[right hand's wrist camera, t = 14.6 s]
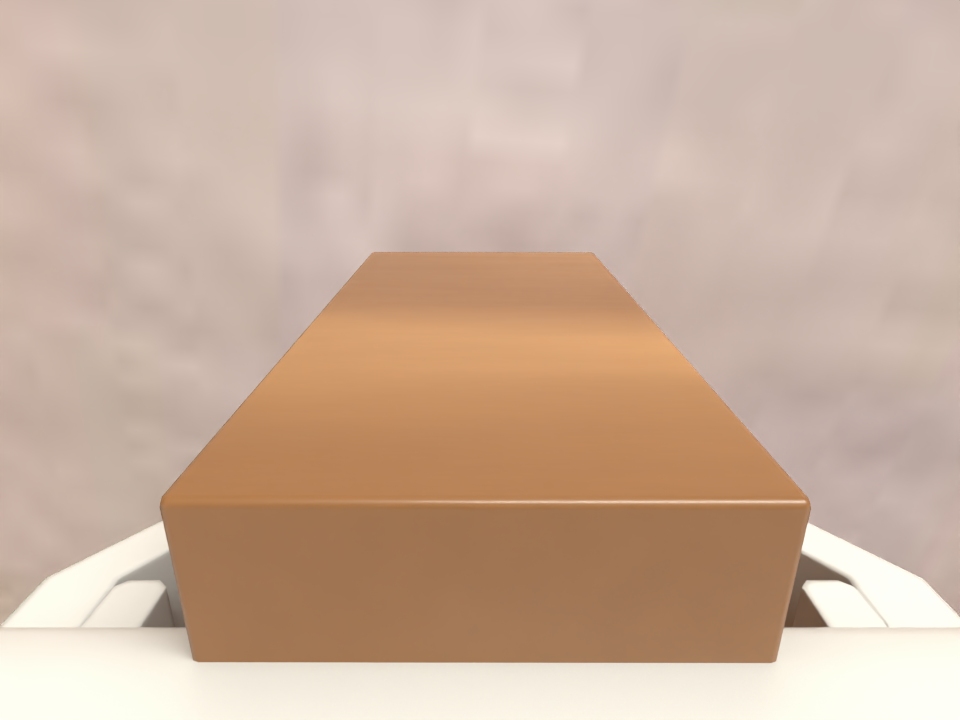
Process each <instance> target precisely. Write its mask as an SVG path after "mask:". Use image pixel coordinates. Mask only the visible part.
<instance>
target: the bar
mask: <svg viewBox="0 0 960 720" xmlns="http://www.w3.org/2000/svg"><path fill="white" fill-rule="evenodd" d="M160 510H161V515H162V520H163V524H164V529H165V533H166V538H167V543H168V547H169V552H170V557H171V561H172V566H173V570H174V575H175V580H176V584H177V589H178V593H179V598H180V603H181V607H182V612H183V617H184V621H185V626H186V630H187V635H188V640H189V644H190V649H191V653H192V658H193V661H196V662H353V663H773V662H775V661H776V660H777V655H778V651H779V646H780V642H781V638H782V633H783V629H784V624H785V620H786V616H787V611H788V607H789V603H790V598H791V594H792V589H793V585H794V581H795V576H796V572H797V567H798V563H799V559H800V554H801V550H802V546H803V541H804V537H805V532H806V528H807V524H808V519H809V515H810V510H811V507H810V502H809V498H808V497H807V496H806V495H805V494H804V493H803V492H802V490H801V489H800V488H799V487H798V486H797V485H796V484H795V482H794V481H793V480H792V479H791V478H790V477H789V476H788V475H787V473H786V472H785V471H784V470H783V469H782V468H781V467H780V465H779V464H778V463H777V462H776V461H775V460H774V459H773V457H772V456H771V455H770V454H769V453H768V452H767V451H766V449H765V448H764V447H763V446H762V445H761V444H760V443H759V442H758V440H757V439H756V438H755V437H754V436H753V435H752V434H751V432H750V431H749V430H748V429H747V428H746V427H745V426H744V424H743V423H742V422H741V421H740V420H739V419H738V418H737V416H736V415H735V414H734V413H733V412H732V411H731V410H730V408H729V407H728V406H727V405H726V404H725V403H724V402H723V401H722V399H721V398H720V397H719V396H718V395H717V394H716V393H715V391H714V390H713V389H712V388H711V387H710V386H709V385H708V383H707V382H706V381H705V380H704V379H703V378H702V377H701V375H700V374H699V373H698V372H697V371H696V370H695V369H694V368H693V366H692V365H691V364H690V363H689V362H688V361H687V360H686V358H685V357H684V356H683V355H682V354H681V353H680V352H679V350H678V349H677V348H676V347H675V346H674V345H673V344H672V342H671V341H670V340H669V339H668V338H667V337H666V336H665V334H664V333H663V332H662V331H661V330H660V329H659V328H658V327H657V325H656V324H655V323H654V322H653V321H652V320H651V319H650V317H649V316H648V315H647V314H646V313H645V312H644V311H643V309H642V308H641V307H640V306H639V305H638V304H637V303H636V301H635V300H634V299H633V298H632V297H631V296H630V295H629V294H628V292H627V291H626V290H625V289H624V288H623V287H622V286H621V284H620V283H619V282H618V281H617V280H616V279H615V278H614V276H613V275H612V274H611V273H610V272H609V271H608V270H607V268H606V267H605V266H604V265H603V264H602V263H601V262H600V261H599V259H598V258H597V257H596V256H595V255H594V254H593V253H476V252H374V253H372V254H371V255H370V256H369V257H368V258H367V259H366V261H365V262H364V263H363V264H362V265H361V266H360V268H359V269H358V270H357V271H356V272H355V273H354V275H353V276H352V277H351V278H350V279H349V280H348V282H347V283H346V284H345V285H344V286H343V287H342V289H341V290H340V291H339V292H338V293H337V294H336V295H335V297H334V298H333V299H332V300H331V301H330V302H329V304H328V305H327V306H326V307H325V308H324V309H323V311H322V312H321V313H320V314H319V315H318V316H317V318H316V319H315V320H314V321H313V322H312V323H311V325H310V326H309V327H308V328H307V329H306V330H305V331H304V333H303V334H302V335H301V336H300V337H299V338H298V340H297V341H296V342H295V343H294V344H293V345H292V347H291V348H290V349H289V350H288V351H287V352H286V354H285V355H284V356H283V357H282V358H281V359H280V360H279V362H278V363H277V364H276V365H275V366H274V367H273V369H272V370H271V371H270V372H269V373H268V374H267V376H266V377H265V378H264V379H263V380H262V381H261V383H260V384H259V385H258V386H257V387H256V388H255V390H254V391H253V392H252V393H251V394H250V395H249V396H248V398H247V399H246V400H245V401H244V402H243V403H242V405H241V406H240V407H239V408H238V409H237V410H236V412H235V413H234V414H233V415H232V416H231V417H230V419H229V420H228V421H227V422H226V423H225V424H224V426H223V427H222V428H221V429H220V430H219V431H218V432H217V434H216V435H215V436H214V437H213V438H212V439H211V441H210V442H209V443H208V444H207V445H206V446H205V448H204V449H203V450H202V451H201V452H200V453H199V455H198V456H197V457H196V458H195V459H194V460H193V462H192V463H191V464H190V465H189V466H188V467H187V468H186V470H185V471H184V472H183V473H182V474H181V475H180V477H179V478H178V479H177V480H176V481H175V482H174V484H173V485H172V486H171V487H170V488H169V489H168V491H167V492H166V493H165V494H164V495H163V496H162V499H161V503H160Z"/></svg>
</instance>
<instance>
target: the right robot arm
mask: <svg viewBox="0 0 960 720" xmlns="http://www.w3.org/2000/svg"><path fill="white" fill-rule="evenodd" d="M0 720H960V616H959V615H958V614H957V613H956V612H955V611H954V610H953V609H952V608H951V607H950V606H949V605H948V604H947V603H946V602H945V601H944V600H943V599H942V598H941V597H940V596H939V595H938V594H937V593H936V592H935V591H934V590H933V589H932V588H931V587H930V586H929V585H928V584H927V582H926V581H925V580H924V579H922V578H920V577H918V576H916V575H914V574H912V573H910V572H908V571H906V570H904V569H902V568H900V567H898V566H896V565H894V564H892V563H890V562H888V561H886V560H884V559H882V558H880V557H877V556H875V555H873V554H871V553H869V552H867V551H865V550H863V549H861V548H859V547H857V546H855V545H853V544H851V543H849V542H847V541H845V540H843V539H841V538H839V537H837V536H835V535H832V534H830V533H828V532H826V531H824V530H822V529H820V528H818V527H816V526H814V525H812V524H810V523H808V524H807V528H806V532H805V537H804V541H803V546H802V550H801V554H800V559H799V563H798V567H797V572H796V576H795V581H794V585H793V589H792V594H791V598H790V603H789V607H788V611H787V616H786V620H785V624H784V629H783V633H782V638H781V642H780V646H779V651H778V655H777V660H776V661H775V662H773V663H353V662H196V661H193V658H192V653H191V649H190V644H189V640H188V635H187V630H186V626H185V621H184V617H183V612H182V607H181V603H180V598H179V593H178V589H177V584H176V580H175V575H174V570H173V566H172V561H171V557H170V552H169V547H168V543H167V538H166V533H165V529H164V524H163V520H162V521H160V522H158V523H156V524H154V525H152V526H150V527H148V528H146V529H144V530H142V531H140V532H138V533H136V534H134V535H132V536H130V537H128V538H126V539H124V540H122V541H120V542H118V543H116V544H114V545H112V546H110V547H108V548H106V549H104V550H102V551H99V552H97V553H95V554H93V555H91V556H89V557H87V558H85V559H83V560H81V561H79V562H77V563H75V564H73V565H71V566H69V567H67V568H65V569H63V570H61V571H59V572H57V573H55V574H53V575H51V576H49V577H47V578H45V579H44V580H43V581H42V583H41V584H40V585H39V586H38V587H37V588H36V589H35V590H34V591H33V592H32V593H31V594H30V595H29V596H28V597H27V598H26V599H25V600H24V601H23V602H22V603H21V604H20V605H19V606H18V607H17V609H16V610H15V611H14V612H13V613H12V614H11V615H10V616H9V617H8V618H7V619H6V620H5V621H4V622H3V623H2V624H1V625H0Z"/></svg>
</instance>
